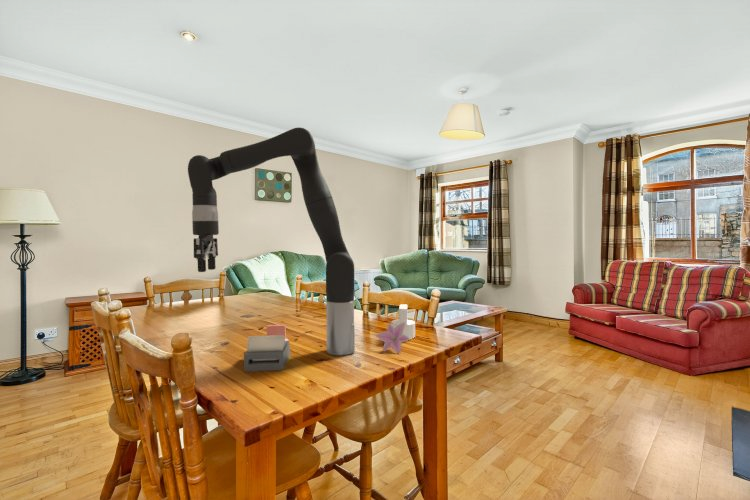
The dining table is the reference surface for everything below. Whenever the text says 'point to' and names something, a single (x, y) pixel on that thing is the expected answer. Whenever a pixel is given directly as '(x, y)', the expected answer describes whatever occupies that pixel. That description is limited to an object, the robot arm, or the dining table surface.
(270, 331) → the pink-tipped cream block
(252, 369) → the dispenser
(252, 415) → the dining table surface
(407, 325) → the base with upright slab
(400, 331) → the lily
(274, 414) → the dining table surface
